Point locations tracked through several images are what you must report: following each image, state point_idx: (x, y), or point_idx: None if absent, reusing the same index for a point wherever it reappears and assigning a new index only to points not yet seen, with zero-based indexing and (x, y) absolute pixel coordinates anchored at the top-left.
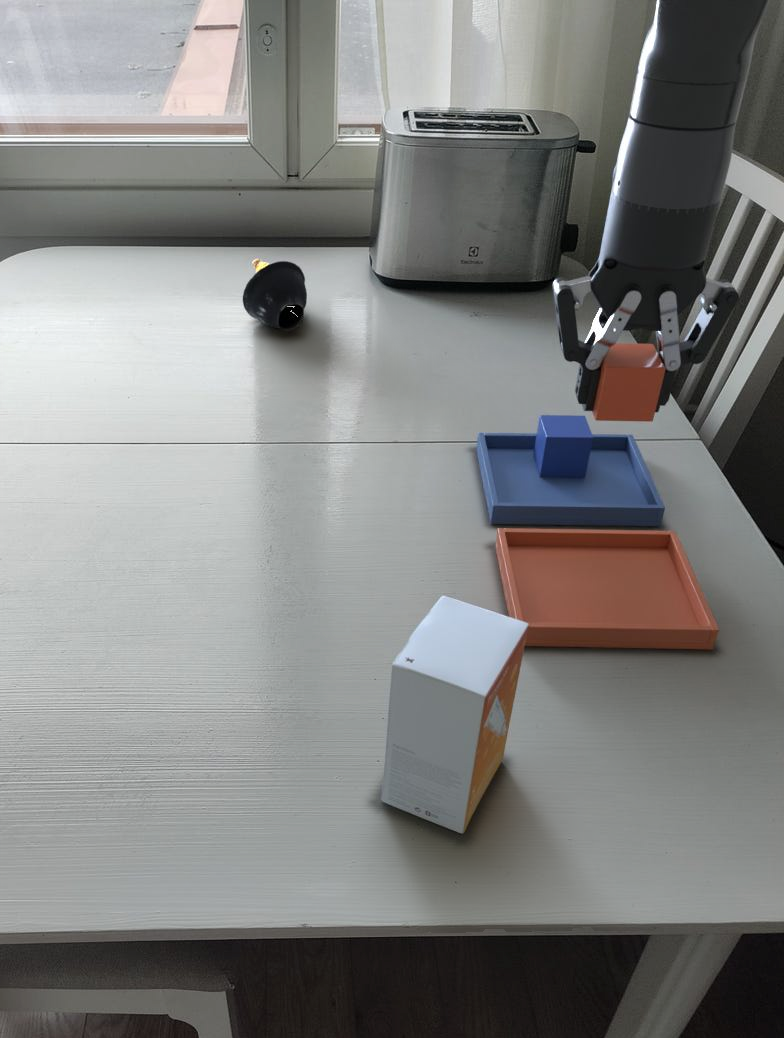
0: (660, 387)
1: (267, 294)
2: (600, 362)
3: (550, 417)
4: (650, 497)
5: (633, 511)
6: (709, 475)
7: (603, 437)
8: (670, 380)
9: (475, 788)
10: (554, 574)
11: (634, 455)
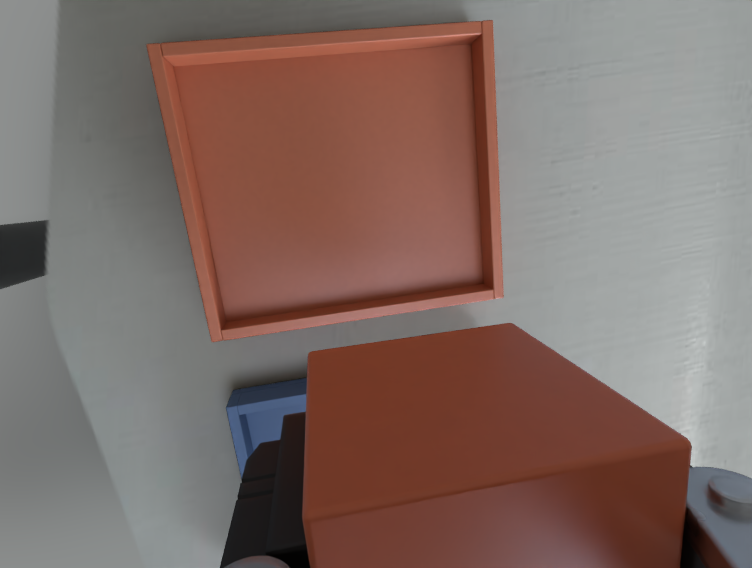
0: (309, 430)
1: None
2: (698, 507)
3: None
4: (248, 444)
5: (279, 394)
6: (143, 547)
7: None
8: (245, 529)
9: None
10: (411, 217)
11: None
